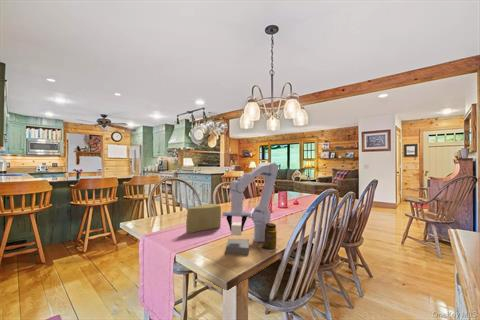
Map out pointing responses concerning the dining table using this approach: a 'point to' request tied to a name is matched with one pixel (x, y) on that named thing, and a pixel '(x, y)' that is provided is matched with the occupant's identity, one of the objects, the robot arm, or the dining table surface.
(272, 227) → the condiment
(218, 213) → the olive rectangular box
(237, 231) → the cube
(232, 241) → the base
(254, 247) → the dining table surface
